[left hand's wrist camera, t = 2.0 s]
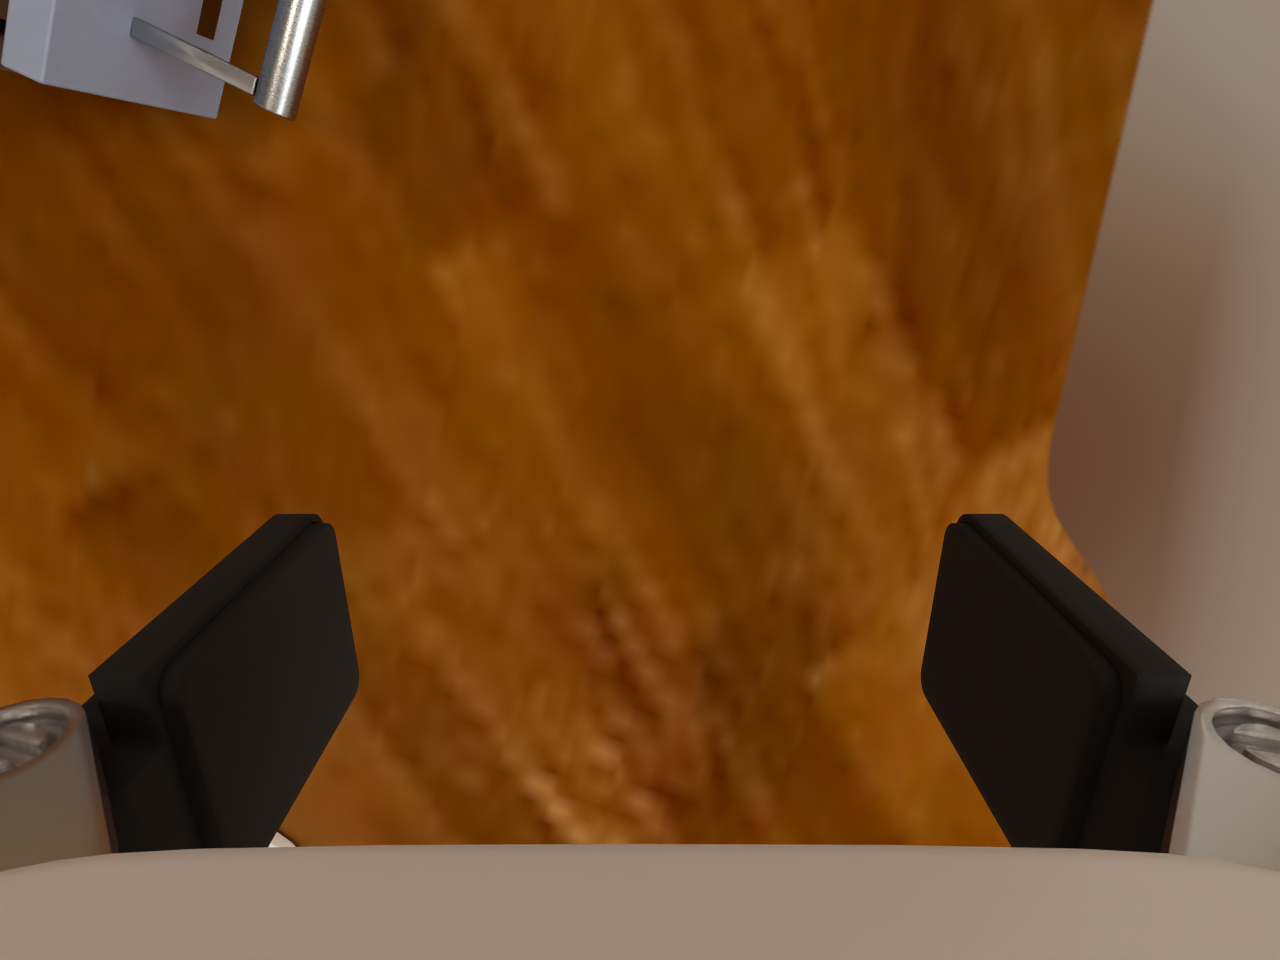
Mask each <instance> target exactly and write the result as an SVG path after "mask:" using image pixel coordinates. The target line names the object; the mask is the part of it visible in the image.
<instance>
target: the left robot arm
mask: <svg viewBox="0 0 1280 960" xmlns="http://www.w3.org/2000/svg"><path fill="white" fill-rule="evenodd" d="M88 676H89V679H90V682H91V685H92V688H93V691H94V695H93V696H92V697H91V698H90V699H89V700H87V701H86V702H85V703H84V704H83V705H82V706H81V705H80V704H79V703H77V702H74V701H72V700H69V699H63V698H42V699H34V700H27V701H22V702H19V703H15V704H11V705H7V706H4V707H0V960H1280V707H1276V706H1272V705H1269V704H1265V703H1261V702H1258V701H1253V700H1245V699H1238V698H1217V699H1211V700H1208V701H1206V702H1204V703H1201V704H1200V705H1199V706H1198V705H1197V704H1196V703H1195V702H1194V701H1193V700H1191V699H1190V698H1189V697H1188V696H1187V695H1186V691H1187V687H1188V685H1189V682H1190V679H1191V675H1190V674H1189V673H1188V672H1187V671H1186V670H1185V669H1183V668H1182V667H1181V666H1180V665H1179V664H1178V663H1177V662H1175V661H1174V660H1173V659H1172V658H1171V657H1170V656H1168V655H1167V654H1166V653H1165V652H1164V651H1163V650H1161V649H1160V648H1159V647H1158V646H1157V645H1156V644H1154V643H1153V642H1152V641H1151V640H1150V639H1149V638H1148V637H1146V636H1145V635H1144V634H1143V633H1142V632H1141V631H1139V630H1138V629H1137V628H1136V627H1135V626H1134V625H1132V624H1131V623H1130V622H1129V621H1128V620H1127V619H1125V618H1124V617H1123V616H1122V615H1121V614H1120V613H1119V612H1117V611H1116V610H1115V609H1114V608H1113V607H1112V606H1110V605H1109V604H1108V603H1107V602H1106V601H1105V600H1103V599H1102V598H1101V597H1100V596H1099V595H1098V594H1096V593H1095V592H1094V591H1093V590H1092V589H1091V588H1090V587H1088V586H1087V585H1086V584H1085V583H1084V582H1083V581H1081V580H1080V579H1079V578H1078V577H1077V576H1076V575H1074V574H1073V573H1072V572H1071V571H1070V570H1069V569H1067V568H1066V567H1065V566H1064V565H1063V564H1062V563H1061V562H1059V561H1058V560H1057V559H1056V558H1055V557H1054V556H1052V555H1051V554H1050V553H1049V552H1048V551H1047V550H1045V549H1044V548H1043V547H1042V546H1041V545H1040V544H1038V543H1037V542H1036V541H1035V540H1034V539H1033V538H1032V537H1030V536H1029V535H1028V534H1027V533H1026V532H1025V531H1023V530H1022V529H1021V528H1020V527H1019V526H1018V525H1016V524H1015V523H1014V522H1013V521H1012V520H1011V519H1009V518H1008V517H1007V516H1005V515H1003V514H963V515H962V516H961V517H960V518H959V520H958V522H957V523H952V524H950V525H948V527H947V529H946V532H945V535H944V541H943V547H942V553H941V559H940V564H939V570H938V576H937V582H936V588H935V593H934V599H933V605H932V611H931V617H930V622H929V628H928V634H927V640H926V646H925V651H924V657H923V663H922V669H921V683H922V689H923V692H924V695H925V697H926V699H927V700H928V702H929V704H930V706H931V707H932V709H933V711H934V713H935V714H936V716H937V718H938V720H939V721H940V723H941V725H942V727H943V728H944V730H945V732H946V734H947V735H948V737H949V739H950V740H951V742H952V744H953V746H954V747H955V749H956V751H957V753H958V754H959V756H960V758H961V760H962V761H963V763H964V765H965V767H966V768H967V770H968V772H969V774H970V775H971V777H972V779H973V781H974V782H975V784H976V786H977V787H978V789H979V791H980V793H981V794H982V796H983V798H984V800H985V801H986V803H987V805H988V807H989V808H990V810H991V812H992V814H993V815H994V817H995V819H996V821H997V822H998V824H999V826H1000V828H1001V829H1002V831H1003V833H1004V834H1005V836H1006V838H1007V840H1008V841H1009V843H1010V845H1011V847H964V846H911V845H757V844H523V845H369V846H316V847H296V846H295V845H294V844H293V843H292V842H291V841H289V840H288V839H287V838H285V837H284V836H282V835H281V834H280V833H278V832H277V831H278V829H279V828H280V826H281V824H282V822H283V821H284V819H285V817H286V815H287V814H288V812H289V810H290V808H291V807H292V805H293V803H294V801H295V800H296V798H297V796H298V794H299V793H300V791H301V789H302V787H303V786H304V784H305V782H306V781H307V779H308V777H309V775H310V774H311V772H312V770H313V768H314V767H315V765H316V763H317V761H318V760H319V758H320V756H321V754H322V753H323V751H324V749H325V747H326V746H327V744H328V742H329V740H330V739H331V737H332V735H333V734H334V732H335V730H336V728H337V727H338V725H339V723H340V721H341V720H342V718H343V716H344V714H345V713H346V711H347V709H348V707H349V706H350V704H351V702H352V700H353V699H354V697H355V695H356V692H357V689H358V683H359V669H358V663H357V657H356V651H355V646H354V640H353V634H352V628H351V622H350V617H349V611H348V605H347V599H346V593H345V588H344V582H343V576H342V570H341V564H340V559H339V553H338V547H337V541H336V535H335V532H334V529H333V527H332V525H330V524H328V523H323V522H322V520H321V518H320V517H319V516H318V515H317V514H277V515H275V516H273V517H272V518H271V519H269V520H268V521H267V522H266V523H265V524H264V525H262V526H261V527H260V528H259V529H258V530H257V531H255V532H254V533H253V534H252V535H251V536H250V537H248V538H247V539H246V540H245V541H244V542H243V543H242V544H240V545H239V546H238V547H237V548H236V549H235V550H233V551H232V552H231V553H230V554H229V555H228V556H226V557H225V558H224V559H223V560H222V561H221V562H219V563H218V564H217V565H216V566H215V567H214V568H213V569H211V570H210V571H209V572H208V573H207V574H206V575H204V576H203V577H202V578H201V579H200V580H199V581H197V582H196V583H195V584H194V585H193V586H192V587H190V588H189V589H188V590H187V591H186V592H185V593H184V594H182V595H181V596H180V597H179V598H178V599H177V600H175V601H174V602H173V603H172V604H171V605H170V606H168V607H167V608H166V609H165V610H164V611H163V612H161V613H160V614H159V615H158V616H157V617H156V618H155V619H153V620H152V621H151V622H150V623H149V624H148V625H146V626H145V627H144V628H143V629H142V630H141V631H139V632H138V633H137V634H136V635H135V636H134V637H132V638H131V639H130V640H129V641H128V642H127V643H126V644H124V645H123V646H122V647H121V648H120V649H119V650H117V651H116V652H115V653H114V654H113V655H112V656H110V657H109V658H108V659H107V660H106V661H105V662H103V663H102V664H101V665H100V666H99V667H98V668H97V669H95V670H94V671H93V672H92V673H91V674H90V675H88Z"/></svg>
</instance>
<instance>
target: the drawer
mask: <svg viewBox="0 0 1280 960" xmlns="http://www.w3.org/2000/svg"><path fill="white" fill-rule="evenodd" d="M243 2H244V0H0V19H4V20H6V27H5V35H4V43H3V50H2V58H1V64H2V65H3V66H4V67H6V68H9V69H11V70H13V71H15V72H17V73H19V74H21V75H24V76H26V77H28V78H30V79H32V80H34V81H36V82H39V83H41V84H45V85H50V86H55V87H60V88H65V89H70V90H75V91H80V92H85V93H89V94H94V95H99V96H104V97H109V98H114V99H119V100H124V101H129V102H134V103H139V104H144V105H148V106H153V107H158V108H163V109H168V110H173V111H178V112H183V113H188V114H193V115H198V116H203V117H207V118H212V119H216V118H217V114H218V109H219V105H220V101H221V96H222V92H223V88H224V83H225V82H226V83H228V84H230V85H232V86H234V87H236V88H238V89H240V90H242V91H244V92H246V93H249V94H251V95H253V96H255V97H254V103H255V104H256V105H258V106H259V107H261V108H263V109H265V110H267V111H269V112H272V113H274V114H276V115H278V116H281V117H283V118H286V119H289V120H292V121H295V119H296V115H297V112H298V108H299V104H300V100H301V97H302V93H303V89H304V86H305V82H306V78H307V74H308V71H309V67H310V63H311V59H312V56H313V52H314V48H315V44H316V41H317V37H318V33H319V29H320V26H321V22H322V18H323V15H324V11H325V7H326V3H327V0H278V4H277V8H276V12H275V16H274V20H273V24H272V29H271V33H270V37H269V41H268V45H267V49H266V53H265V57H264V61H263V65H262V69H261V73H260V77H258V76H256V75H254V74H252V73H250V72H248V71H246V70H244V69H242V68H240V67H238V66H236V65H234V64H232V63H230V58H231V53H232V49H233V45H234V40H235V36H236V32H237V27H238V23H239V19H240V14H241V10H242V6H243Z"/></svg>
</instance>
